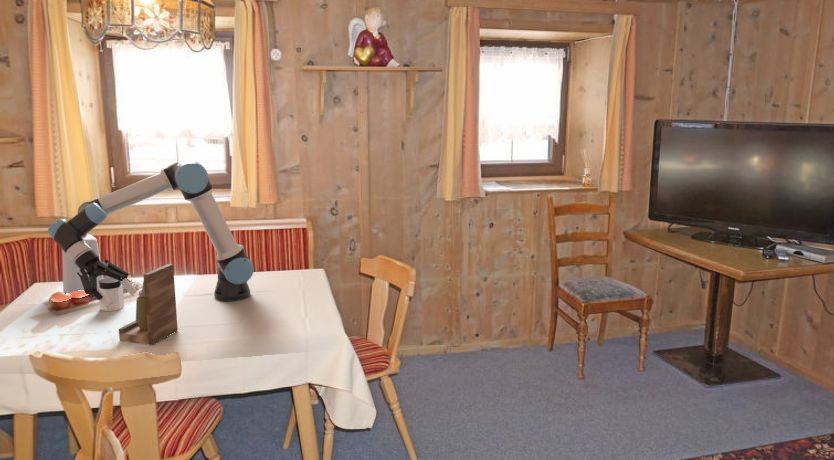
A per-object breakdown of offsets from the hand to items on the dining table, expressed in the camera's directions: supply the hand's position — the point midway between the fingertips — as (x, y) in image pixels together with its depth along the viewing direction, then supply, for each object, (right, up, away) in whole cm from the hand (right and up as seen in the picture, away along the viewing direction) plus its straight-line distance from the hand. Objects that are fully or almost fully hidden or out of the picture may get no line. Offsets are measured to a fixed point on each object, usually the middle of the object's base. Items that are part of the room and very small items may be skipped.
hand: (122, 299), depth 224 cm
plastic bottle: (-39, -3, +47) cm, 61 cm away
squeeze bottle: (+10, -11, 0) cm, 15 cm away
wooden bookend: (+10, -14, +1) cm, 17 cm away
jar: (-18, -7, +29) cm, 34 cm away
